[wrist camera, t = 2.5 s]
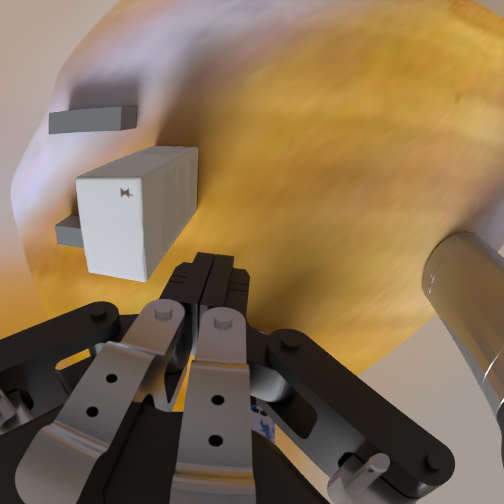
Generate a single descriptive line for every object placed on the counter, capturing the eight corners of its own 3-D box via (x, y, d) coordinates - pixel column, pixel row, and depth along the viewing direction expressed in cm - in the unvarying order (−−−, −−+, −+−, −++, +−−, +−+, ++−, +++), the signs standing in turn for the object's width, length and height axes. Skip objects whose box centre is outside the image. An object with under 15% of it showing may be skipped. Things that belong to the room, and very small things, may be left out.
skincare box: (153, 144, 24) (72, 174, 13) (200, 146, 24) (143, 174, 13) (153, 209, 27) (86, 274, 16) (197, 213, 26) (149, 285, 16)
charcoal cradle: (137, 106, 22) (121, 106, 20) (136, 240, 28) (123, 254, 25) (67, 111, 22) (49, 113, 20) (73, 232, 28) (57, 243, 25)
